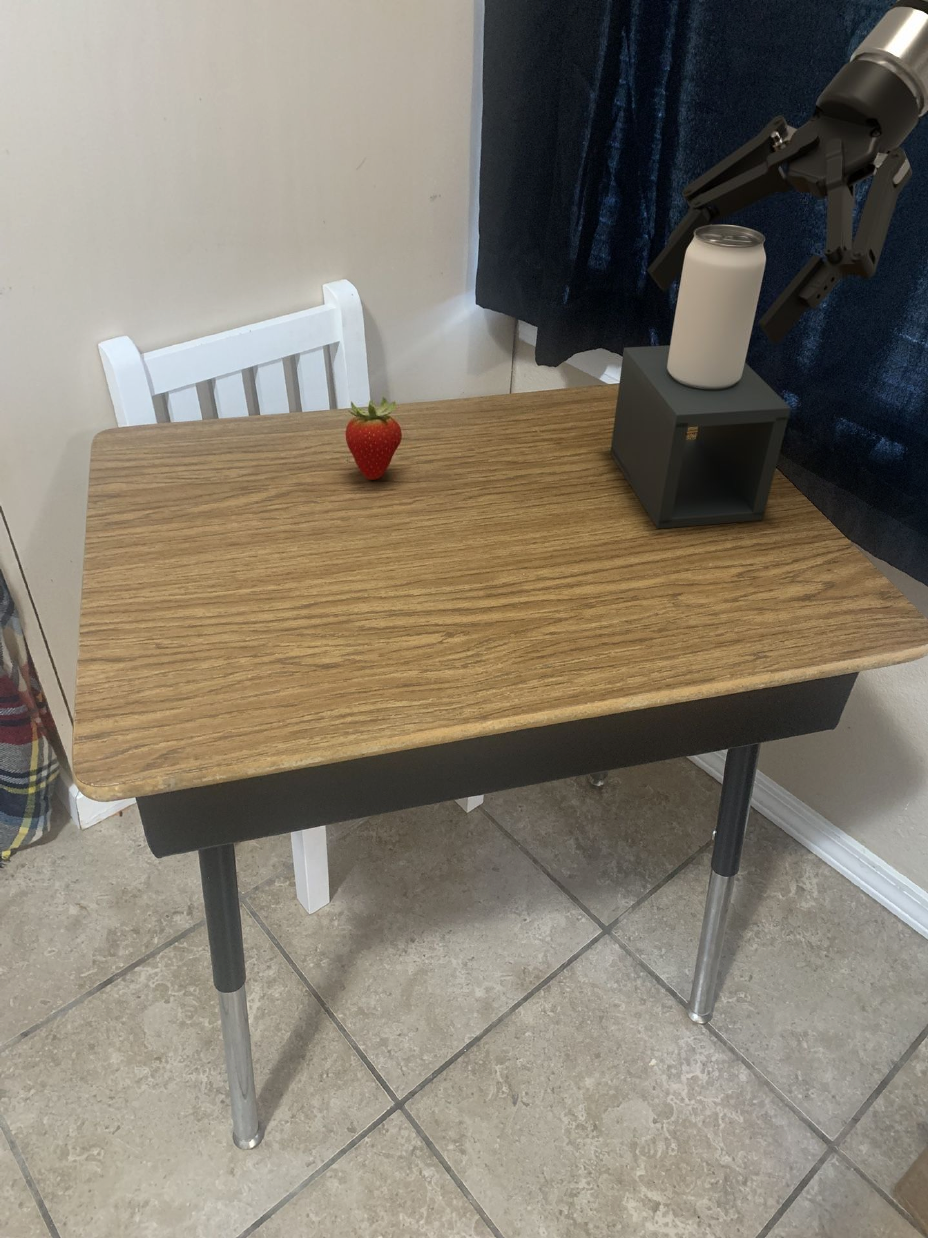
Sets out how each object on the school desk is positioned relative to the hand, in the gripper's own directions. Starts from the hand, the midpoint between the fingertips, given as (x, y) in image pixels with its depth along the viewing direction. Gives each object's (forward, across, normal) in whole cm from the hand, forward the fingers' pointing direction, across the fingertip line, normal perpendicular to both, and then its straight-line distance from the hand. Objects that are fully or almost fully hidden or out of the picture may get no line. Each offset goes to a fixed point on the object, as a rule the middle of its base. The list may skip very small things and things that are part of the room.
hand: (708, 306), depth 81 cm
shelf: (+12, 0, -13) cm, 17 cm away
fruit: (+29, +15, +5) cm, 33 cm away
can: (+4, 0, -5) cm, 7 cm away
